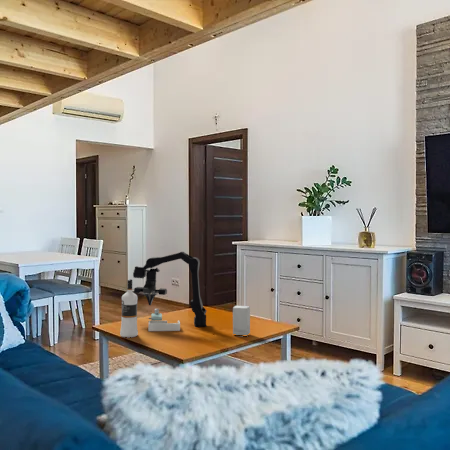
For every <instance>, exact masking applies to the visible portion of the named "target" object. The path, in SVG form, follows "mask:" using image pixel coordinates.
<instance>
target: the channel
mask: <svg viewBox="0 0 450 450" xmlns="http://www.w3.org/2000/svg"><path fill="white" fill-rule="evenodd" d="M180 321H181V320H177V322H175V323H174V322H172V323H171V322H169V323H168V320H155V321H151V320H148V327H147V328H148V329H147V330H148V331H147V332H173V331H174V332H176V331H177V332H178V331H179V332H180V331H181V322H180Z"/></svg>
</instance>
